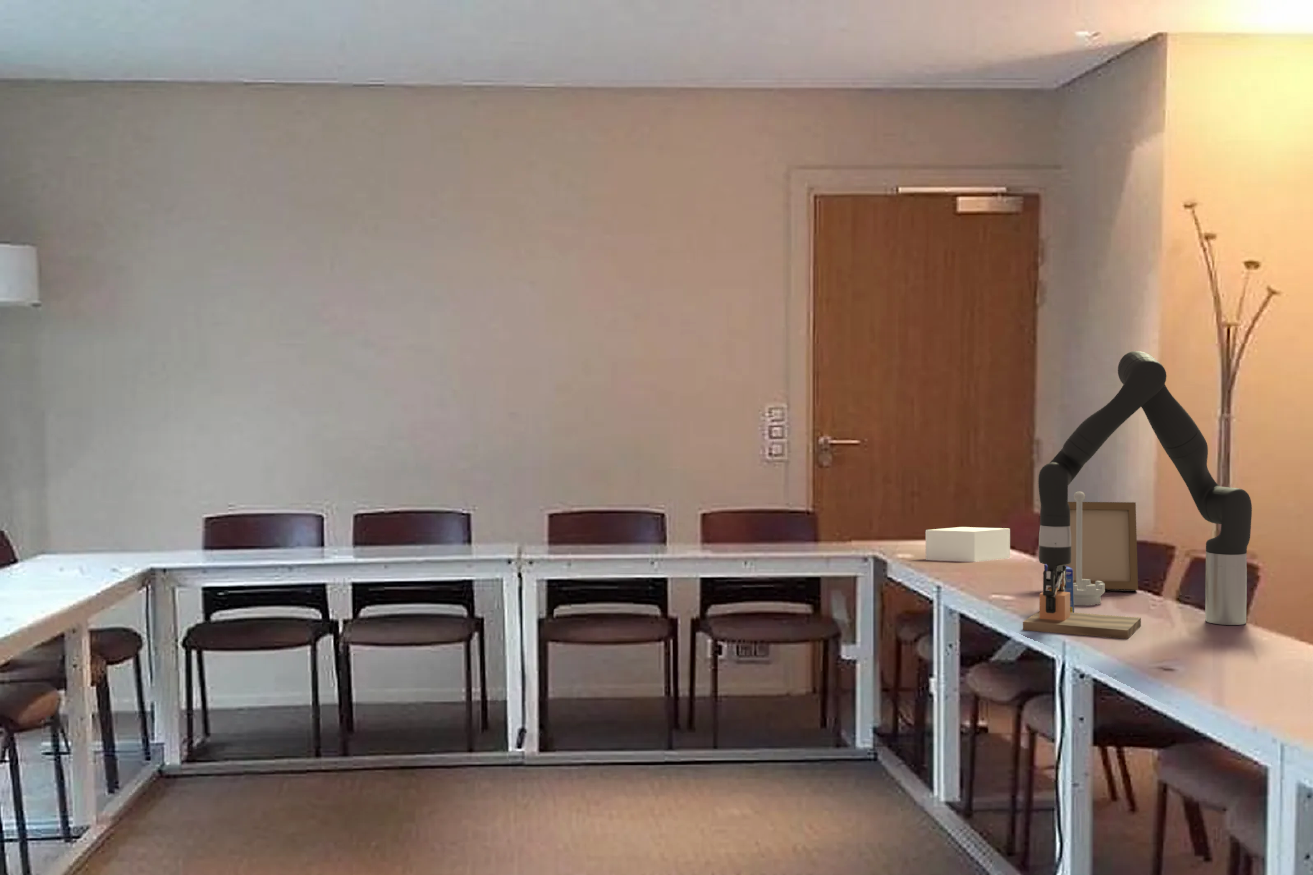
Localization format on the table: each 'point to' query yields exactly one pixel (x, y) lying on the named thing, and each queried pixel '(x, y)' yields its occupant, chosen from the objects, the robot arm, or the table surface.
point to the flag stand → (1083, 587)
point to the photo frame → (1107, 544)
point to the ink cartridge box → (1068, 585)
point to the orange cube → (1061, 607)
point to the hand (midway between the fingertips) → (1054, 610)
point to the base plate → (1086, 625)
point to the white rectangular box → (968, 544)
